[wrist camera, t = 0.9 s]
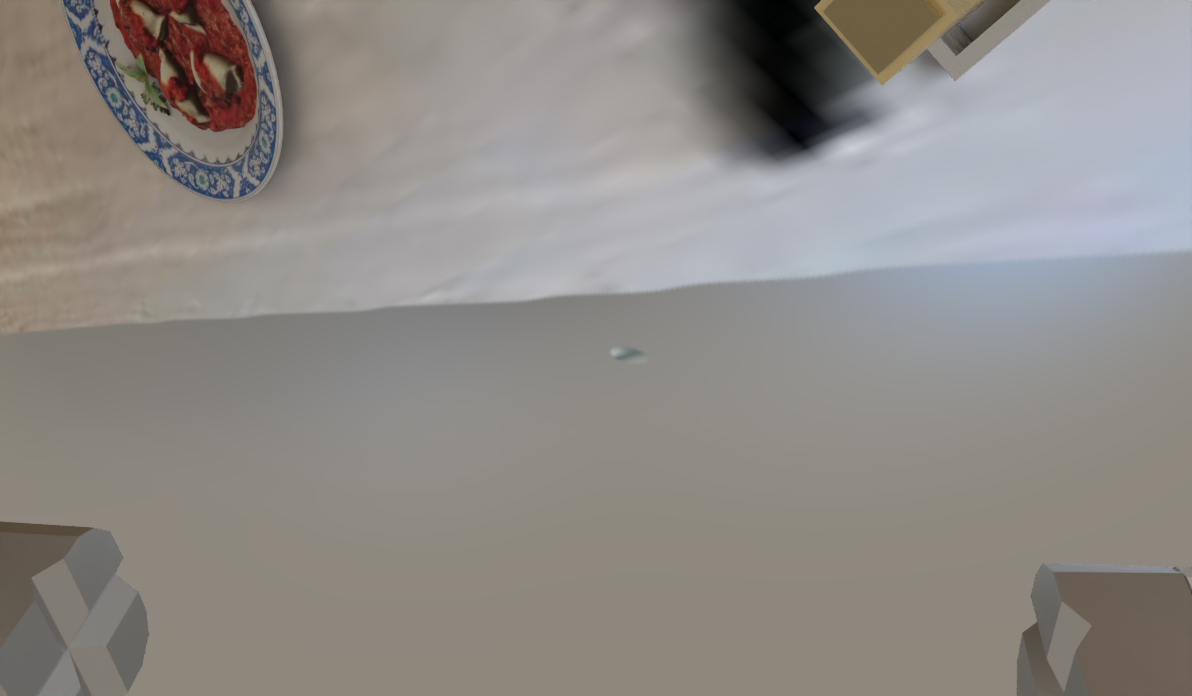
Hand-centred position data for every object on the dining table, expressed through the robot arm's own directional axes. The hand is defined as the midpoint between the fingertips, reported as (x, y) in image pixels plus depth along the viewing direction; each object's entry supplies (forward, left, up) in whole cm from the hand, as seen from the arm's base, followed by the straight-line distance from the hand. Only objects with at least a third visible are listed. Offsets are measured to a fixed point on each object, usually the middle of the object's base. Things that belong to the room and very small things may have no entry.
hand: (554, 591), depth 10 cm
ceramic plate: (+31, -68, -45) cm, 87 cm away
